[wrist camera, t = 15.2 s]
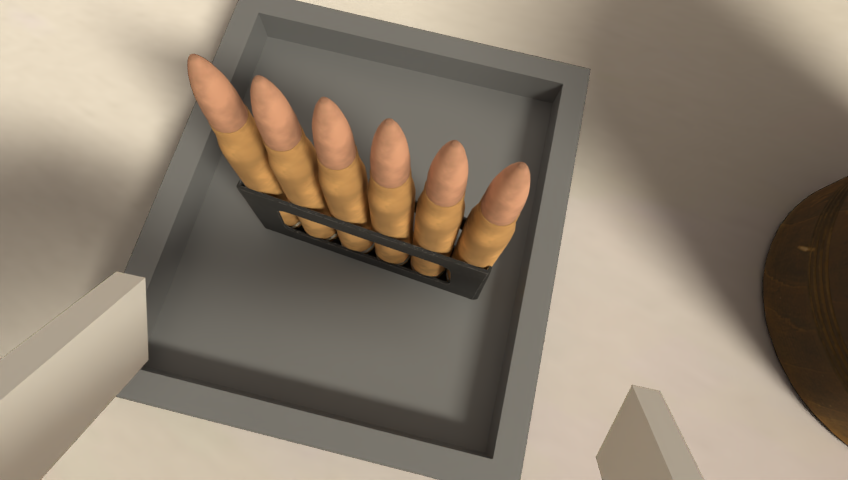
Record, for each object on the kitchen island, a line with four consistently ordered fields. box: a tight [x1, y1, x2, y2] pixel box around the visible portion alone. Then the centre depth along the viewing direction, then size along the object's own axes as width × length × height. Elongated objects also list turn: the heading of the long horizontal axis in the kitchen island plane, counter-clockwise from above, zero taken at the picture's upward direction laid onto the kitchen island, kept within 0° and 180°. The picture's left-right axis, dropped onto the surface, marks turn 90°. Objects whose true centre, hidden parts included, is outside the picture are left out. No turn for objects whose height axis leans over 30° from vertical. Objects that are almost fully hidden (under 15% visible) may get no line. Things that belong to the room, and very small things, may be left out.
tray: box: [116, 0, 590, 480], centre depth 24 cm, size 18×20×2 cm
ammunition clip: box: [187, 54, 530, 300], centre depth 18 cm, size 11×2×12 cm, turn 71°
